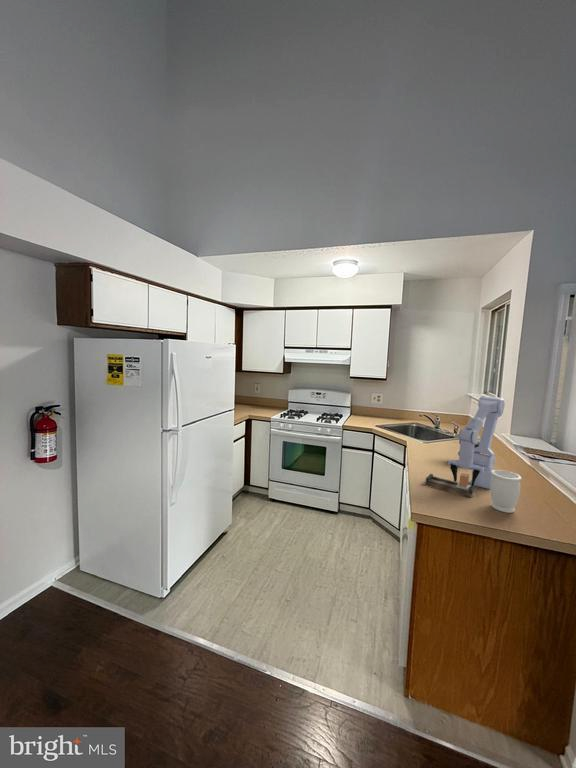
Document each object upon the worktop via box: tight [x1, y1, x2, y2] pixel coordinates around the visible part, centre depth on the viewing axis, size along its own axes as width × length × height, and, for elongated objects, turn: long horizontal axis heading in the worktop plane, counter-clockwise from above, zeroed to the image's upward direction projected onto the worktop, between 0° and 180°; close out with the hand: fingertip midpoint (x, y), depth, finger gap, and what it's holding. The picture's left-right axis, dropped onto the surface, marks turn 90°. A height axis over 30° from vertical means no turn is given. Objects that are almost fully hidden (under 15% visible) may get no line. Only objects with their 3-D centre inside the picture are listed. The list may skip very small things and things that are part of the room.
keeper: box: [457, 472, 471, 491], centre depth 148 cm, size 5×5×6 cm
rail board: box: [424, 473, 476, 499], centre depth 152 cm, size 20×9×4 cm, turn 50°
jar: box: [489, 469, 522, 514], centre depth 133 cm, size 11×10×15 cm
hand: (463, 483), depth 148 cm, fingers open, 7 cm apart
